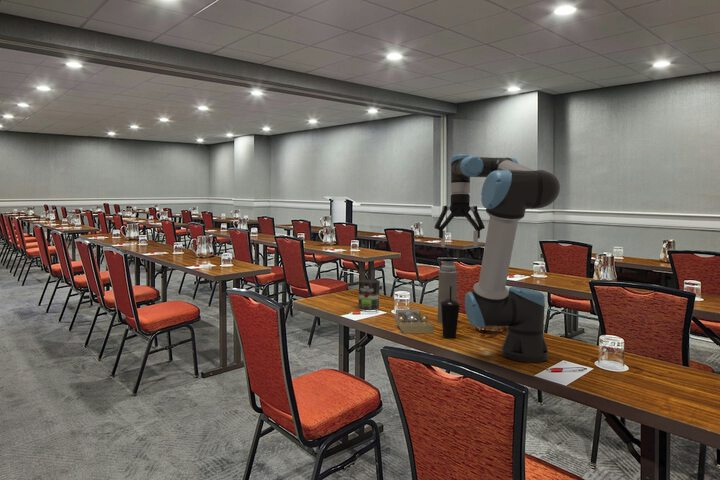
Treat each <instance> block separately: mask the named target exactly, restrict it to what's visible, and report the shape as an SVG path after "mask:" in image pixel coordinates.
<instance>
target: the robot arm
mask: <svg viewBox="0 0 720 480" xmlns="http://www.w3.org/2000/svg"><path fill="white" fill-rule="evenodd" d="M471 178H485V179H484V181H483V184H482V187H481V198H480V199H481V204H482V206H483V207H484V208H485V212H486V214H487V215H488V216H489V219H488V225H487V232H486V237H485V244H484V248H483V249H484V250H483V255H482V261H481V265H480V266H481V268H480V274H479V280H478V282H476V283H475V284H473V288H472V292H471V291H469V292H466V294H465V296H464V309H465V313H466V317H467V320H468V322H469V324H470V325H471V326H473V327H476V328H479V327H480V328H494V327H495V328H496V327H498V328H499V327H507V332H506V333H507V334H506V336H505V338H504V341H503V343H502V347H501V356H503V357H505V358H507V359H509V360H513V361H517V362H523V363H541V362H545V361H547V360H548V359H549V350H548V347H547V344H546V340H545V337H544V336H545V335H544V330H545V329H544V327H545V307H546V301H545V295H544V294H543V293H542V292H541V291H538V290H534V289H531V288H526V287H520V286H519V287H518V286H510V287H509V289H508V288H507V287H506V286H507V285H506V284H507V279H508V274H509V269H510V266H511V265H510V264H511V260H512V254H513V249H514V244H515V239H516V233H517V228H518V223H519V221H520V220H522V219H523V218H525V214H526V210H538V209H544V208H546V207H548V206H550V205H552V204H553V203H554V202H555V201H556V200H557V198H558V196H559V195H560V191H561V185H560V182H559V179H558V177H557V176H556V175H555V174H554V173H551V172H549V171H546V170H544V169H538V170H535V169H533V168H530V167H527V166H525V165H523V164H520V163H519V162H518V160H517V159H516V158H513V157H506V156H505V157H486V156H483V157H482V156H480V157H479V156H478V155H477V156H476V155H469V154H466V153H463V154H462V153H461V154H459V153H458V154H453V155H452V156H451V161H450V206H449V205H442V209H441V210H442V211H441V213H440V215H439V217H438V219H437V220H436V222H435V225H434V226H433V227H434V229H435V230H438V238H439V239H440V248H445V247H446V230H445V228H447V226H448V225H449V223H451V221H452V220H453V219H455V218H466V219H467V221H468V222H469V223H470V224H471V226H472V227H473V228H474V230H473V237H472V238H473V239H472V240H473V241H472V242H473V243H472V247H474V248H479V247H478V243H479V239H480V238H481V231H482V230H484V229H485V228H486V227H485V225H484V222H483V220H482V218H481V216H480V214H479V211H478V206H477V205H473V206H471V205H470V201H471V200H470V199H471V197H470V194H469V193H471ZM449 211H450V213H449V214H448V216H447V217H446V215H447V213H448V212H449ZM470 211H471V213H472V214H473V216H474V218H475V220H474V218H473V217H472V215H471V214H470V213H469V212H470ZM445 217H446V218H445ZM444 219H445V220H444ZM443 220H444V221H443Z"/></svg>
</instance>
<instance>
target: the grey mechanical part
mask: <svg viewBox="0 0 720 480" xmlns="http://www.w3.org/2000/svg"><path fill="white" fill-rule="evenodd" d="M398 316H404V320H405V323H408V322H420V317H421V316H422V312H421V311H420V310H419V308H418V309H417V308H415V309H413V308H411V309H406V308H405V309H395V321H396V322H397V317H398Z"/></svg>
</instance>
